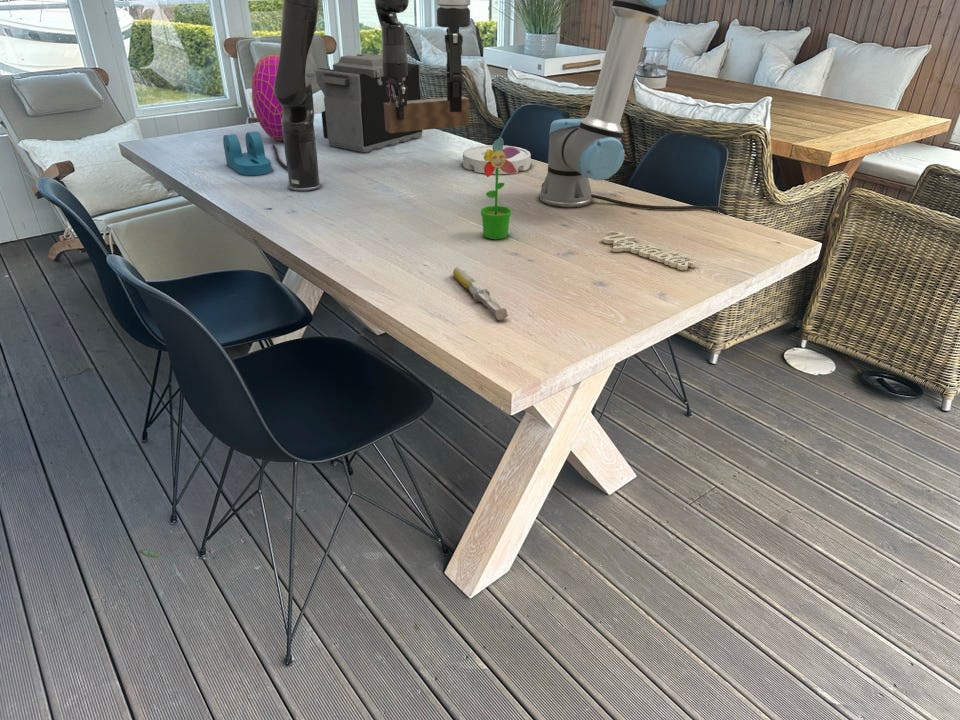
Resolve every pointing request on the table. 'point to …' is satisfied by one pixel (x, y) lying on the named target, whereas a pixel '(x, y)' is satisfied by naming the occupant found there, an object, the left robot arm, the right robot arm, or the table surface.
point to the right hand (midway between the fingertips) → (454, 106)
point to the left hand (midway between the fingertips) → (397, 118)
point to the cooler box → (361, 103)
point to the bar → (425, 115)
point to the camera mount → (246, 154)
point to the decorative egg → (267, 96)
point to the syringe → (479, 293)
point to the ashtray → (476, 162)
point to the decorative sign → (647, 251)
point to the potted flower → (497, 215)
